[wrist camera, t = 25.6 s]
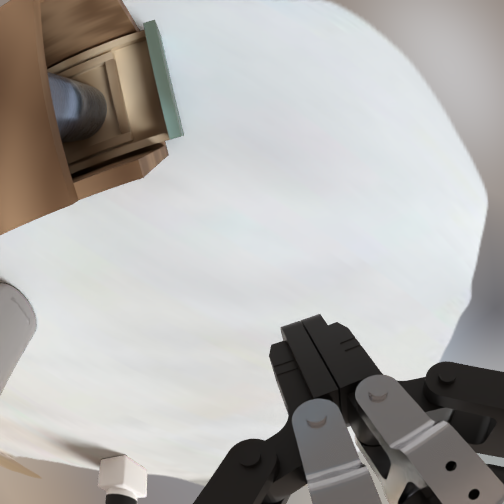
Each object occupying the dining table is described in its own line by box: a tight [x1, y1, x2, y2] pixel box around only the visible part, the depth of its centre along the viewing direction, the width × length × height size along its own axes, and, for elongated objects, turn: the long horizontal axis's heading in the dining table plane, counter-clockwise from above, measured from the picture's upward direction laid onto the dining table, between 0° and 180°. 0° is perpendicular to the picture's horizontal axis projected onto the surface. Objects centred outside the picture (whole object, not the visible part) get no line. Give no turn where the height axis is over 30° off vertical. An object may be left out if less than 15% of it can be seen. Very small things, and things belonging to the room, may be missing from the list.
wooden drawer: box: [47, 20, 184, 174], centre depth 23 cm, size 17×11×5 cm, turn 102°
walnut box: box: [0, 0, 168, 235], centre depth 18 cm, size 16×14×16 cm
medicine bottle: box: [98, 455, 147, 504], centre depth 42 cm, size 7×7×12 cm
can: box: [47, 72, 107, 143], centre depth 18 cm, size 5×5×12 cm
